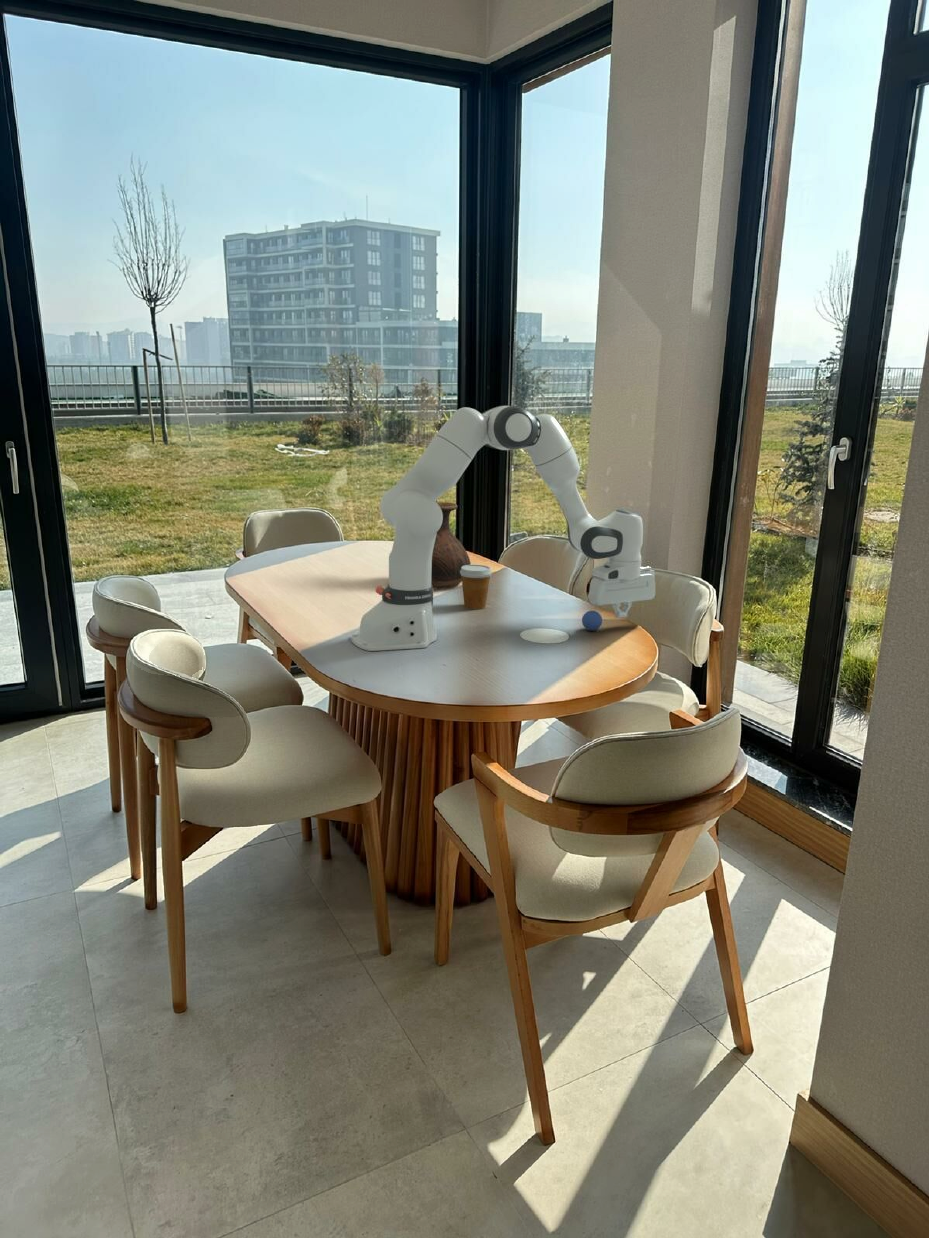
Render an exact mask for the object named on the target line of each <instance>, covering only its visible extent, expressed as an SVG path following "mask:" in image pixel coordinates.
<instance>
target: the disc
mask: <svg viewBox="0 0 929 1238" xmlns="http://www.w3.org/2000/svg"><path fill="white" fill-rule="evenodd" d="M520 638H521V639H523V640H525V641H527V642H530V643H536V644H544V645H545V644H549V645H550V644H561V643H564V642H566V641H569V638H570V636H569V634H568V633H566V632H564V631H562V630H557V629H551V628H531V629H530V628H529V629H526V630H523V631H521V632H520Z"/></svg>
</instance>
